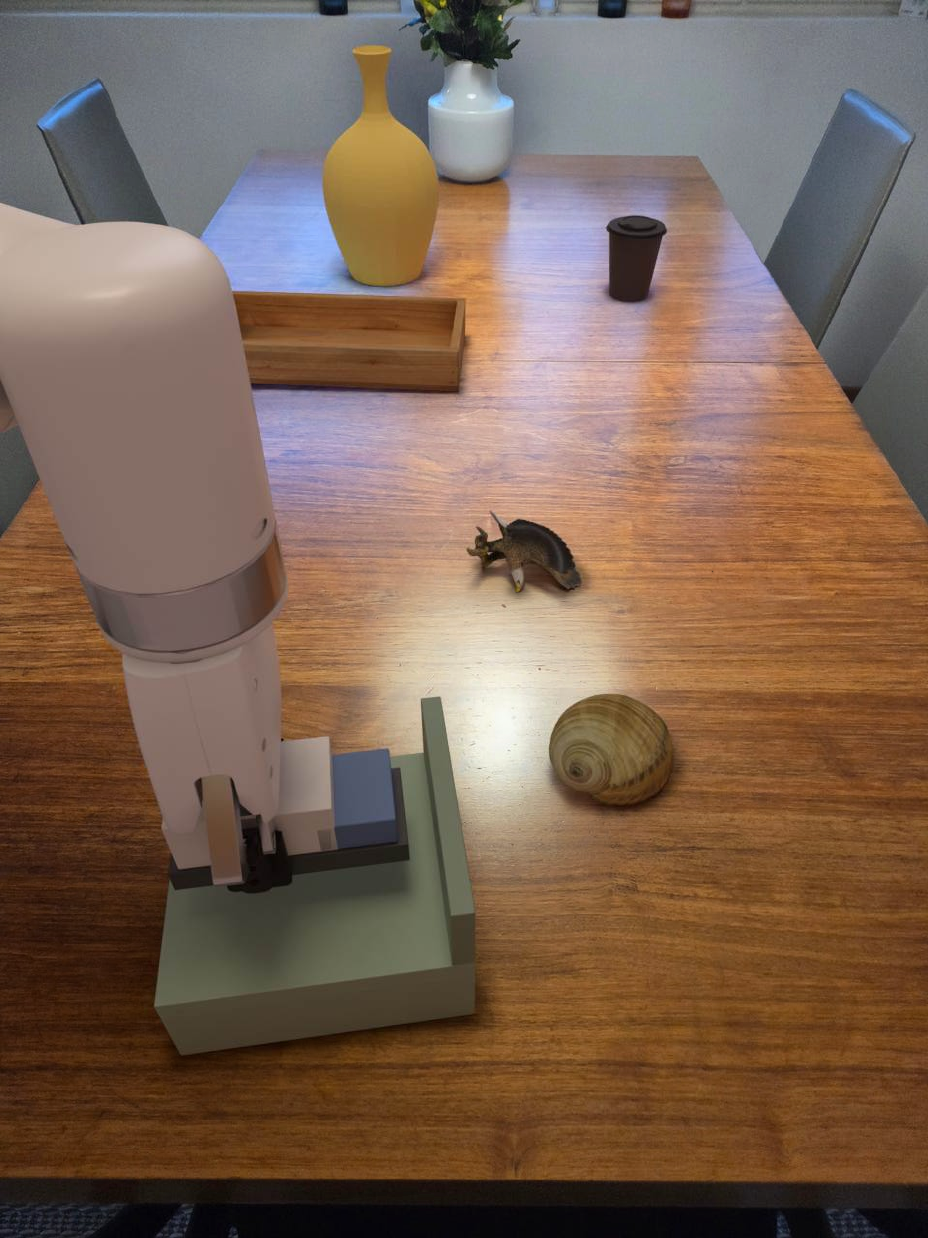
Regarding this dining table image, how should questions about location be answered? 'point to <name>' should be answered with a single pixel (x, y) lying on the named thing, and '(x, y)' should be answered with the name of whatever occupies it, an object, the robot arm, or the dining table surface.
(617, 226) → the coffee cup
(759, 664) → the dining table surface
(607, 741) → the seashell
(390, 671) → the dining table surface
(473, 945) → the olive lipped platform
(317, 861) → the black base with blocks
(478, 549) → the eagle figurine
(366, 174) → the vase
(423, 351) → the tray
